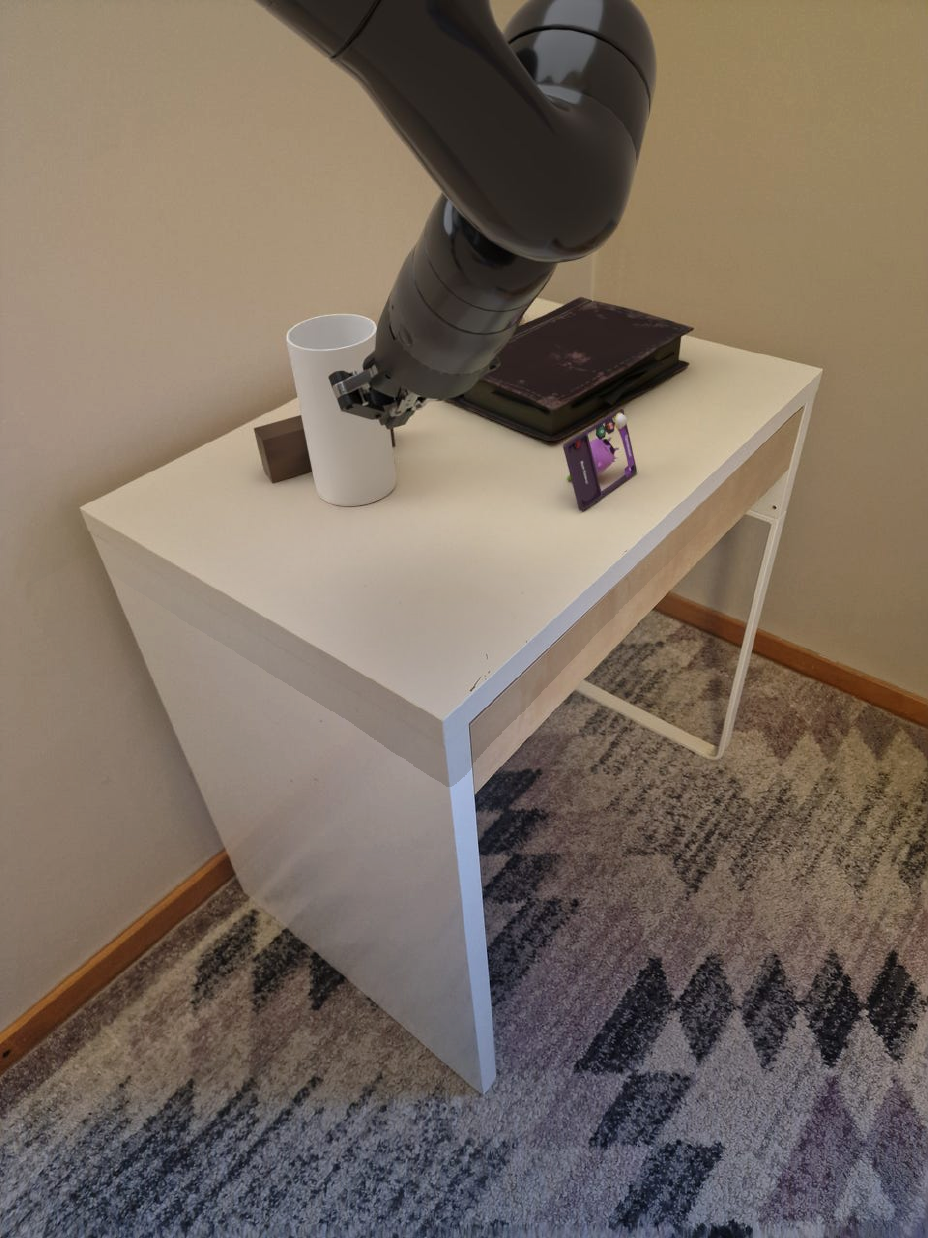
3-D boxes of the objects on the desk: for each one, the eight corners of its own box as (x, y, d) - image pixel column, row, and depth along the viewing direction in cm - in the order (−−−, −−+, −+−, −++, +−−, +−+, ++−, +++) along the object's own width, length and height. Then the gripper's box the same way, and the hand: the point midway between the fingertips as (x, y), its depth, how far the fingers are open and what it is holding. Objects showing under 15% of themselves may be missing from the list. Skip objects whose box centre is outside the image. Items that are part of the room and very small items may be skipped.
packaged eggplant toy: (571, 444, 77) (629, 407, 82) (530, 445, 81) (587, 409, 86) (588, 512, 80) (643, 472, 85) (547, 509, 84) (602, 471, 89)
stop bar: (272, 483, 88) (262, 440, 85) (263, 470, 90) (253, 427, 87) (395, 445, 93) (390, 403, 89) (384, 434, 95) (379, 392, 91)
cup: (410, 471, 88) (393, 319, 78) (370, 513, 83) (345, 355, 72) (343, 457, 91) (318, 308, 81) (300, 496, 86) (267, 343, 75)
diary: (437, 398, 100) (434, 357, 97) (574, 330, 113) (575, 292, 110) (558, 450, 90) (559, 407, 87) (694, 369, 102) (700, 328, 99)
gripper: (523, 234, 54) (447, 352, 70) (326, 278, 49) (294, 393, 66) (566, 344, 53) (480, 437, 70) (372, 398, 49) (329, 483, 66)
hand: (390, 416), depth 68 cm, fingers closed
